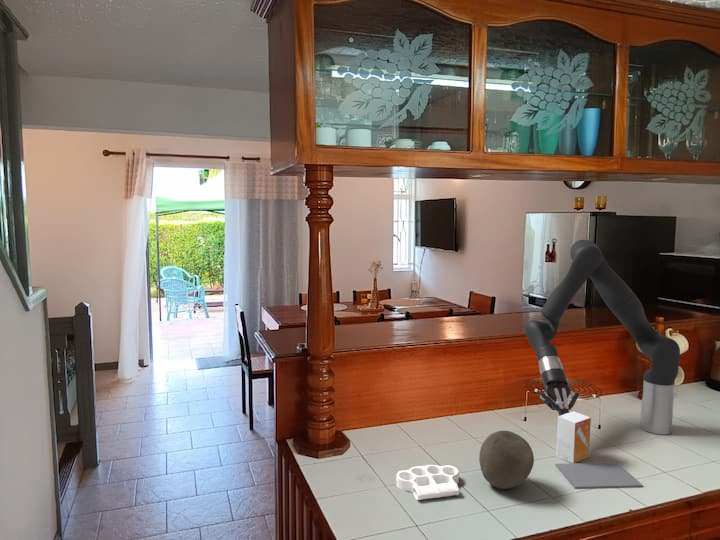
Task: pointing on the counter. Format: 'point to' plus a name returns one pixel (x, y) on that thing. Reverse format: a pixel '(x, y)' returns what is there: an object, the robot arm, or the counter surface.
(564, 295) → the robot arm
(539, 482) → the counter surface
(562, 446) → the small box
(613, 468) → the mat
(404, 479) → the knuckle duster
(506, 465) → the cantaloupe
